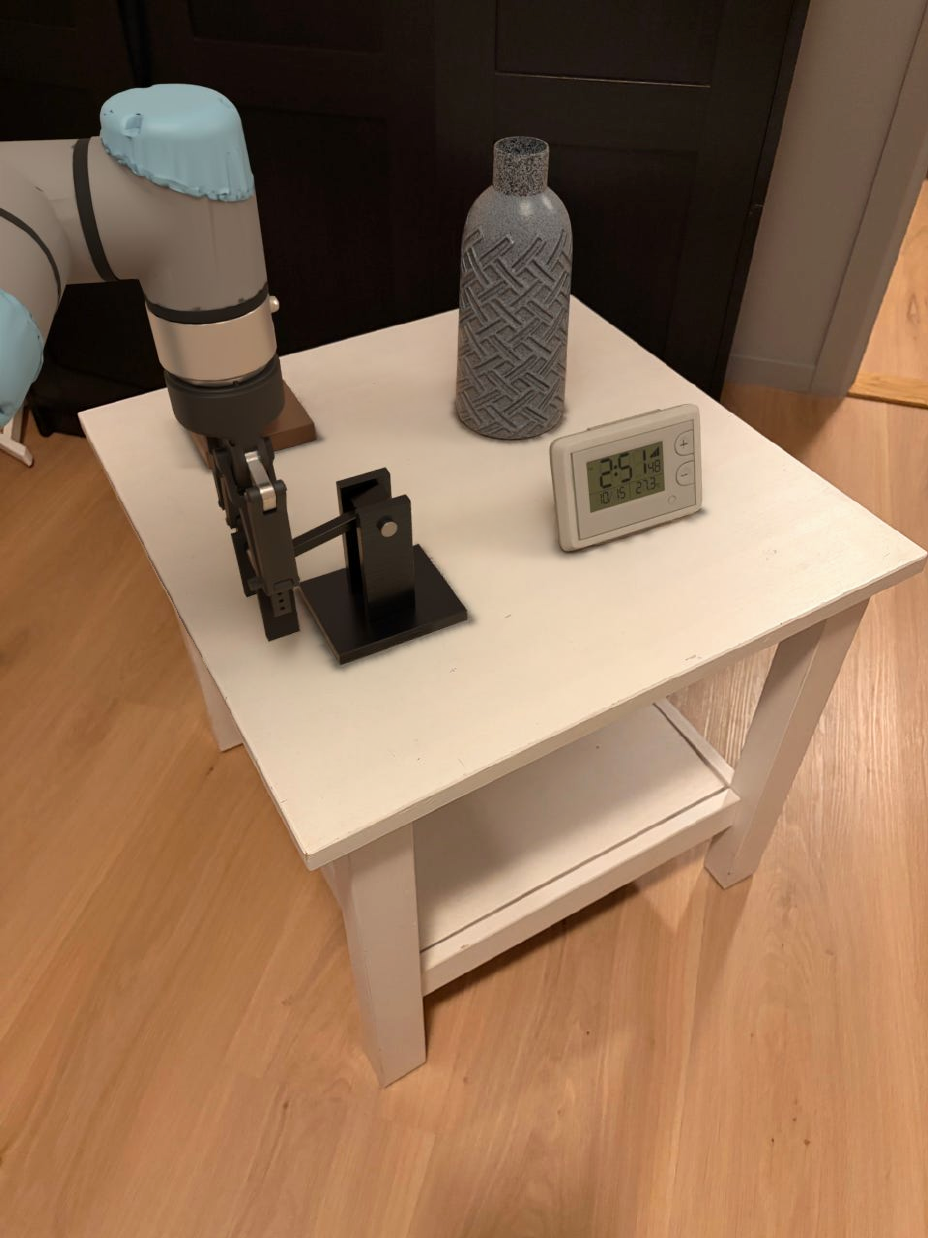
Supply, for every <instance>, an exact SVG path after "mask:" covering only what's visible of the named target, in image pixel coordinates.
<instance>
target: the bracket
mask: <svg viewBox="0 0 928 1238" xmlns="http://www.w3.org/2000/svg"><path fill="white" fill-rule="evenodd" d="M380 483H381V484H382V486H383V487H384V488H385V490H386V491H387V493H388V494H389V495H390V497H391V499H388V500H384V501H381V502H378V503H374V504H371V505H368V506H365V507H361V508H358V509H355V516H356V526H357V527H356V528H354V529H352V530H350V531H348V532H346V533H344V534H342V535H341V538H342V548H343V555H344V556H343V557H344V565H345V567H342V568H340V569H336V570H333V571H330V572H327V573H324V574H321V575H317V576H314V577H312V578H309V579H306V580H302V581H299V582H300V586H299V587H298V590H299V591H298V592H299V594H300V595H301V597H302V599H303V601H304V603H305V604H306V606H307V608H308V609H309V612H310V613H311V616H312V617H313V619H314V620H315V622H316V624H317V626H318V627H319V630H320V631H321V633H322V635H323V636H324V638H325V640H326V642H327V644H328V645H329V647H330V649H331V651H332V653H333V655H334V656H335V658H336V660H337V661H338V664H339V665H340V666H341V665H344V664H347V663H350V662H351V661H355V660H358V659H361V658H364V657H366V656H369V655H373V654H375V653H377V652H380V651H382V650H386V649H388V648H391V647H394V646H397V645H400V644H403V643H405V642H407V641H411V640H413V639H416V638H419V637H422V636H425V635H427V634H430V633H433V632H436V631H438V630H441V629H444V628H447V627H450V626H453V625H455V624H458V623H460V622H461V623H462V622H463V621H466V620H468V609H467V607H466V606H465V605H464V603H462V601H461V600H460V598H459V596H458V595H457V594H456V593H455V591H454V590H453V589H452V587H451V585H449V583H448V581H447V580H446V578H444V576H443V574H442V573H441V572H440V571H439V569H438V567H436V565H435V564H434V563H433V561H432V560H431V558H430V557H429V556H428V554H427V553H426V552H425V550H424V548H423V547H422V546H421V545H420V543H416V544H413V542H414V541H413V521H412V520H413V519H412V517H413V516H412V501H411V499H410V498H409V496H408V495H407V494H406V493H404V494H401V495H398V496H394V497H393V494H392V479H391V472H390V471H389V470H388V468H387V467H386V466H385V467H381V468H377V469H374V470H371V471H368V472H364V473H360V474H356V475H353V476H350V477H346V478H343V479H340V480H336V481H335V487H336V496H337V505H338V512H339V516H340V515H342V514H344V513H346V512H348V511H350V510H352V509H354V507H353V505H352V502H351V499H350V498H351V497H353V496H356V495H358V494H360V493H362V492H364V491H366V490H368V489H370V488H372V487H374V486H376V485H378V484H380Z"/></svg>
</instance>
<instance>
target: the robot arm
mask: <svg viewBox="0 0 928 1238" xmlns="http://www.w3.org/2000/svg"><path fill="white" fill-rule="evenodd" d="M99 121H100V127H101V129H100V131H99V135H97V136H91V137H90V138H75V139H74V138H73V139H72V138H71V139H44V140H43V139H42V140H13V141H0V431H2V430H3V429H4V428H5V427H6V426H7V425H8V424H9V423H10V422H11V420H13V418H14V417H15V416H16V414H17V413H18V411H19V409H20V408H21V407H22V406H23V405H22V404H23V402H24V400H25V398H26V396H27V394H28V392H29V390H30V387H31V385H32V384H33V383H35V381H36V380H37V379H38V377H39V375H40V373H41V370H42V367H43V364H44V350H45V349H44V348H45V345H46V343H47V339H48V336H49V333H50V329H51V326H52V323H53V321H54V317H55V315H56V314H57V311H58V310H59V309H58V308H59V306H60V303H61V300H62V297H63V294H64V291H65V289H66V285H77V284H91V283H92V284H93V283H107V282H108V283H110V282H120V281H122V280H138V281H139V284H140V285H141V288H142V291H143V296H144V301H145V302H144V304H145V311H146V313H147V318H148V322H149V326H150V329H151V333H152V337H153V341H154V345H155V349H156V352H157V356H158V360H159V363H160V364H161V366H162V367H163V368H164V369H163V377H164V380H165V385H166V389H167V392H168V397H169V400H170V404H171V405H170V406H171V408H172V409H171V410H172V413H173V416H174V418H175V419H176V421H177V422H178V424H179V425H181V427H183V428H184V429H186V430H187V431H188V430H189V431H191V432H193V433H196V434H199V435H202V436H203V440H204V442H205V444H206V447H207V451H208V455H209V460H210V464H211V472H212V478H213V481H214V486H215V490H216V496H217V499H218V500H217V504H218V506H219V508H220V509H221V510H222V511H225V522H226V525H227V527H229V529H230V530H234V532H230V538H231V541H232V546H233V550H234V551H233V552H234V555H235V559H236V563H237V568H238V574H239V577H240V581H241V586H242V591H243V593H244V596H245V597H246V598H251V597H254V596H256V598H257V602H258V607H259V612H260V616H261V621H262V626H263V631H264V635H265V638H266V640H267V642H268V643H270V642H273V641H276V640H279V639H281V638H284V637H288V636H290V635H293V634H296V633H299V632H301V628H300V627H301V625H300V621H299V616H298V608H297V604H296V603H297V602H296V598H295V592H294V589H295V588H299V586H300V582H301V578H300V576H299V571H298V565H297V560H296V557H295V553H294V547H293V541H292V539H293V535H292V529H291V524H290V518H289V513H288V495H287V491H288V488H287V485H286V483H285V482H284V480H282V479H281V478H280V479H277V475H276V471H275V467H274V462H275V457H276V455H275V451H273V446H272V443H271V440H270V437H269V436H268V435H264V436H262V433H263V431H264V430H265V429H266V428H267V427H268V426H269V425H270V424H271V423H272V422H274V421H275V420H276V419H277V418H278V417H279V415H280V414H281V413H282V411H283V409H284V406H285V391H284V384H283V379H284V378H283V371H282V366H281V365H282V364H281V359H280V356H279V355H278V353H277V348H278V346H277V338H276V331H275V324H274V321H273V318H272V313H276V312H277V311H278V310H279V309H280V301H279V300H278V298H277V297H276V296H274V295H270V293H269V283H268V276H267V268H266V260H265V253H264V245H263V239H262V232H261V223H260V217H259V209H258V208H259V207H258V201H257V194H256V185H255V178H254V174H253V172H252V169H251V165H250V164H251V163H250V158H249V154H248V149H247V143H246V139H245V133H244V128H243V123H242V119H241V117H240V114H239V112H238V110H237V108H236V106H235V105H234V104H233V103H232V101H230V99H229V98H228V97H226V96H225V95H223V94H222V93H221V92H219V91H217V90H214V89H212V88H209V87H205V86H201V85H196V84H188V83H187V84H186V83H160V84H159V83H158V84H153V85H151V86H149V87H135V88H130V89H126V90H123V91H121V92H118V93H116V94H114V95H112V96H111V97H109V98H108V99H107V100H106V101H105V102H104V103H103V105H102V106H101V109H100V113H99ZM189 431H188V432H189ZM246 541H248V545H249V549H250V553H251V556H252V560H253V564H254V568H255V569H254V568H253V566H252V564H251V562H250V560H249V558H248V556H247V554H246V552H245V550H244V544H245V542H246Z"/></svg>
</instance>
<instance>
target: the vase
mask: <svg viewBox="0 0 928 1238" xmlns="http://www.w3.org/2000/svg"><path fill="white" fill-rule="evenodd" d="M492 157H493V158H492V183H491V185H490V186H489V187H487V188H486V189H485V190H484V191H482V193H480V195H478V197H477V198H476V199H475V200H474V202H473V203H472V205H471V207H470V208H469V210H468V213H467V215H466V218H465V222H464V227H463V232H462V238H461V250H460V272H459V273H460V276H459V301H458V304H459V305H458V324H457V328H458V329H457V350H456V351H457V354H456V377H455V378H456V379H455V380H456V381H455V407H456V410H457V413H458V416H459V418H460V420H461V421H462V423H463V424H464V425H465V426H467V428H469V429H471V430H473V431H475V432H477V433H479V434H481V435H484V436H488V437H491V438H497V439H503V440H505V439H506V440H518V439H519V440H520V439H526V438H527V439H528V438H532V437H536V436H539V435H543V434H544V433H546V432H548V431H549V430H551V429H552V428H554V427H555V426H556V425H557V424H558V423H559V421H560V419H561V416H562V415H563V412H564V408H565V397H566V382H567V381H566V380H567V364H568V363H567V362H568V346H569V345H568V343H569V324H570V307H571V305H570V303H571V287H572V270H573V269H572V267H573V253H574V252H573V251H574V250H573V245H574V244H573V231H572V223H571V220H570V215H569V213H568V210H567V208H566V206H565V204H564V202H563V201H562V200H561V199H560V197H559V196H558V194H556V192H554V191H553V190H552V189H551V187H549V186H548V176H549V162H550V161H549V159H550V146H549V144H548V143H547V142H546V141H544V140H542V139H539V138H537V137H531V136H510V137H509V136H508V137H504V138H501V139H499V140H497V141H496V142H495V143H494V145H493V155H492Z"/></svg>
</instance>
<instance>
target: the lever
mask: <svg viewBox="0 0 928 1238" xmlns="http://www.w3.org/2000/svg"><path fill="white" fill-rule="evenodd" d="M350 499H351V502H352V505H353V507H354V509H352V510H350V511H348V512H346V513H344V514H342V515H340V514H339V515H338V516H335V517H334V518H332V519H330V520H328V521H326V522H324V523H321V524H320V525H318V526H316V527H314V528H312V529H309V530H307V531H305V532H304V533H301V534H300V535H297V536H295V537H294V538H293V537H292V541H293V547H294V553H295V558H297V557H299V556H302V555H303V554H305V553H307V552H310V551H311V550H314V549H315V548H317V547H320V546H321V545H324V544H325V543H328V542H330V541H332V540H334V539H335V538H338V537H340V536H342V534H344V533H346V532H348V531H350V530H352V529H354V528H356V527H357V526H356V516H355V509H358V508H361V507H365V506H368V505H371V504H374V503H378V502H381V501H384V500H388V499H391V497H390V495H389V494H388V493H387V491H386V490H385V488H384V487H383V486H382V484H381V483H380V484H378V485H376V486H374V487H372V488H370V489H368V490H366V491H364V492H362V493H360V494H358V495H356V496H353V497H351V498H350ZM244 550H245V552H246V554H247V556H248V558H249V560H250V562H251V564H252V566H253V568H254V564H253V560H252V556H251V553H250V549H249V545H248V541H246V542H245V544H244ZM254 569H255V568H254Z"/></svg>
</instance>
